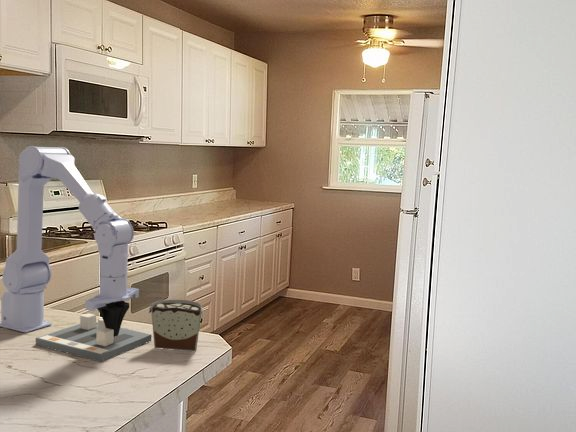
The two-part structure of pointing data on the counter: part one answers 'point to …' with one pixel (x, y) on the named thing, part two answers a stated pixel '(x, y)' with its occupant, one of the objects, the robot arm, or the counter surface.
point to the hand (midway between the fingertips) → (112, 335)
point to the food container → (176, 324)
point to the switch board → (92, 342)
